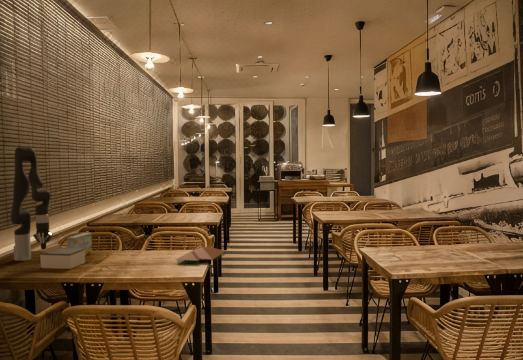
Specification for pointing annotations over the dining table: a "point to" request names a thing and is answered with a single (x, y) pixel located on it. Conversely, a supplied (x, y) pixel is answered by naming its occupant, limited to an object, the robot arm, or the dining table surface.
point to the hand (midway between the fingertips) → (43, 249)
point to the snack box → (81, 242)
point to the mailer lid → (60, 250)
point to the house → (201, 255)
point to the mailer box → (63, 260)
